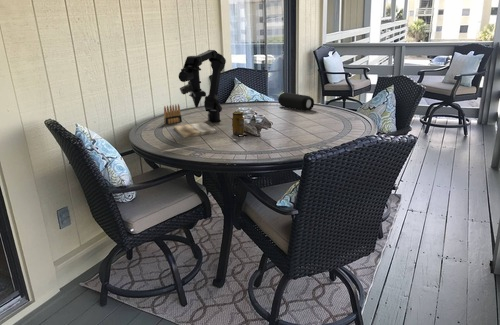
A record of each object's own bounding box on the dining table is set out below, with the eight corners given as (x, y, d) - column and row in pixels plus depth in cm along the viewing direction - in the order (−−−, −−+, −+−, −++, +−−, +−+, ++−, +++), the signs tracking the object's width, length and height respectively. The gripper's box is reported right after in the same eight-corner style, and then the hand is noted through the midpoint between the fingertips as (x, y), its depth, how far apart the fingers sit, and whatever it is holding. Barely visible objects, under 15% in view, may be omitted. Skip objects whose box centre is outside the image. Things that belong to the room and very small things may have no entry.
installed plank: (189, 127, 232) (188, 124, 231) (200, 135, 215) (200, 132, 214) (173, 129, 228) (173, 126, 228) (184, 137, 211) (184, 134, 211)
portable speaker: (314, 110, 269) (315, 95, 266) (304, 112, 263) (305, 97, 260) (287, 105, 288) (287, 91, 284) (277, 107, 282) (277, 93, 278)
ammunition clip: (165, 126, 239) (163, 106, 235) (164, 125, 241) (162, 105, 237) (182, 123, 245) (180, 103, 241) (180, 122, 246) (179, 103, 242)
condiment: (241, 132, 222) (240, 110, 218) (248, 135, 215) (247, 113, 211) (229, 134, 219) (228, 112, 215) (235, 137, 212) (234, 115, 208)
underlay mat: (206, 125, 237) (206, 124, 237) (220, 134, 219) (220, 132, 218) (168, 131, 228) (168, 129, 228) (179, 140, 209) (179, 138, 209)
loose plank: (204, 124, 235) (204, 122, 235) (216, 132, 218) (216, 130, 218) (189, 126, 232) (189, 124, 231) (200, 134, 215) (200, 132, 214)
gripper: (175, 78, 229) (178, 106, 234) (185, 82, 213) (187, 112, 218) (194, 77, 233) (196, 104, 238) (205, 81, 217) (207, 109, 223)
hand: (196, 107), depth 229 cm, fingers closed
